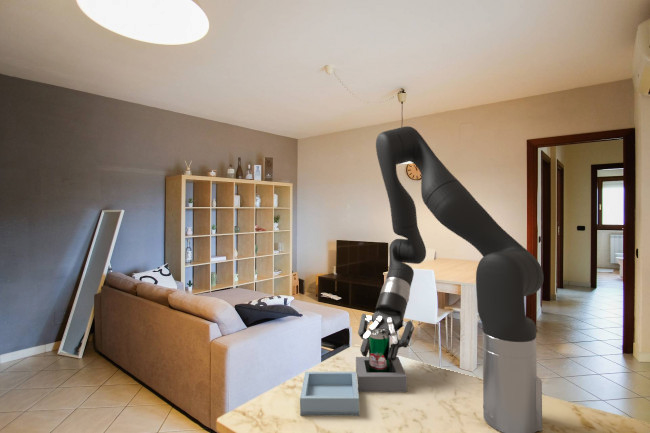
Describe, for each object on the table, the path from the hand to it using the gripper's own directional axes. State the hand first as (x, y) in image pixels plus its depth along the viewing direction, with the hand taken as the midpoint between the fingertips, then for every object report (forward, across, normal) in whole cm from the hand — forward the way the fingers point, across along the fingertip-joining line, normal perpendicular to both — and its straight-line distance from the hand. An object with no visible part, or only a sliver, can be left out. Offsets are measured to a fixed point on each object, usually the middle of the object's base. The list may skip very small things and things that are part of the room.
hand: (376, 357), depth 84 cm
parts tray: (+13, -6, -4) cm, 15 cm away
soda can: (+3, 0, +6) cm, 7 cm away
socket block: (+3, 0, +6) cm, 6 cm away
